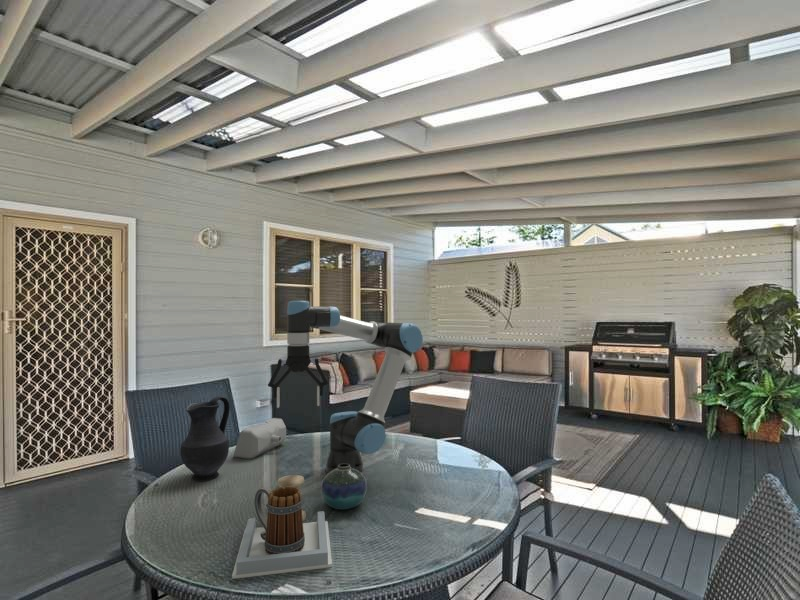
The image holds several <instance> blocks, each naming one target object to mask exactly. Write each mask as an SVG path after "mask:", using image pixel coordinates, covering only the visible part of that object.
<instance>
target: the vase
mask: <svg viewBox="0 0 800 600" xmlns="http://www.w3.org/2000/svg"><path fill="white" fill-rule="evenodd" d="M367 491H368V482H367V479H366V477H365V475H364V474H363V473H362V471H361V472H359V471H358V470H356V469H354V468H351V467H350V464H347V463H342V464H339V465H338V468H336V469H334V470H332V471H331V472H329V473H327V474H326V475H325V476H324V477H323V478H322V480H321V484H320V494H321V497H322V500H323V501H324V503H325V504H326V505H328V507H330V508H332V509H335V510H341V511H342V510H344V511H345V510H350V509H354V508H356V507H357V506H359V505H360V504H361V503H362V502H363V501H364V499H365V497H366V494H367Z"/></svg>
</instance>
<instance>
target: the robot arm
mask: <svg viewBox="0 0 800 600" xmlns="http://www.w3.org/2000/svg"><path fill="white" fill-rule="evenodd" d="M286 309H287V311H286V316H287V321H286V322H287V323H286V324H287V334H286V335H287V339H286V340H287V342H286V343H287V345H288V346H287V347H286V348H287V349H286V351H287V353H286V354H287V355H286V356H287V357H286V359H282V358H279V359H278V361H277V366H276V367H275V370H274V372H273V374H272V376H271V378H270V380H269V382H268V384H267V386H268V387H269V388H272V389H273V391H272V392H273V398H275V399H276V408H277V409H279V408H280V405H281V404H280V396H281V395H280V393H281V392H280V391H281V390H280V387H279V386H280V385H281V383H282V382H283V381H284V380H285V378H286V377H288V375H289V374H290V373H291V371H292V372H294V373H297V372H299V373H300V372H301V373H304V372H307V374H309V376H310V377H311V378H312V379H313V380H314V382H315V383H316V384H317V386H316V406H317V407H320V404H321V403H320V397H321V396H324V386H326V385H327V386H328V384H329V381H328V379H327V376H326V375H325V373H324V371H323V369H322V368H321V366H320V364H319V363H320V361H319V358H318V357H315V358H311V357H310V328H312V329H316V330H320V331H325V332H330V333H335V334H338V335H341V336H347V337H349V338H350V337H351V338H353V339H354V338H356V339H360V340H362V341H363V340H364V342H365V343H367V344H370V345H374V346H376V347H380V348H383V349H384V352H385V356H384V358H383V360H382V362H381V365H380V368H379V370H378V372H377V374H376V377H375V380H374V382H373V385H372V388H371V389H370V392H369V395H368V396H367V399H366V401H365V404H364V407H363V408H362V409H361V410H359V411H356V410H354V411H343V412H342V411H341V412H335V413H332V414H331V416H330V418H329V419H330V420H329V433H330V434H329V442H330V443H329V445H330V446H329V454H328V457H327V459H326V464H325V472H326V473H327V474H328V473H329V472H331V471H332V470H334V469H336V468H338V465H339V464H342V463H347V464H350V467H351V468H354V469H356V470H358V471H359V472H361V473H362V471H363V470H364V461H363V459H362V456H361V453H362V454H367V455H372V454H374V453H375V454H376V452H378V451H380V449H382V448H383V446H384V444H385V442H386V439H387V434H386V432H387V431H386V428H385V425H386V421H385V415H386V412H387V410H388V406H389V404H390V401H391V400H392V396H393V394H394V392H395V389H396V387H397V384H398V381H399V378H400V376H401V374H402V371H403V369H404V366H405V363H406V362H408V361H409V360H411V358H412V355H413V353H416V352H418V351H420V349H421V348H422V345H423V341H424V338H423V337H424V336H423V334H422V331H421V330H422V329H420V328H419V326H418V325H417V324H414V323H411V322H410V323H409V322H379V321H378V322H377V321H373V320H370V321H369V322H368V321H364V320H360V319H356V318H352V317H349V316H345V315H341V313H340V309H339V308H338V307H336V306H331V305H326V306H324V305H323V306H312V305H310V301H309V300H290V301H289V302H287V308H286ZM311 363H312V365H314V366H315V368H316V369H317V372H318V374H319V375H320V378H321V379H322V381H321V380H320V378H318V376H316V374H315V373H314V372H313V371H312V370H311V368H310V367H309V366H310V364H311ZM285 364H286V365H287V369H286V370H285V372H283V373H282V375H281V376H280V377H279V378H278V379H277V381H276V382H275V383H274V381H275V379H276V378H277V376H278V373H279V372H280V369H281V367H283V366H284V365H285Z"/></svg>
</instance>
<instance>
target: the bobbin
mask: <svg viewBox="0 0 800 600" xmlns="http://www.w3.org/2000/svg"><path fill="white" fill-rule="evenodd" d="M304 483H305V477H304V476H302V475H300V474H299V475H298V474H290V475H285V476H281V477H280V478H278V480H277V485H278V487H283V488H285V487H286V486H290V488H291V487H296V488H298V487H300V486H302V485H303V484H304ZM306 517H307V513H306V511H305V510H303V509H302V519H303V522H304V521H305V520H306Z"/></svg>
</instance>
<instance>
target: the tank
mask: <svg viewBox="0 0 800 600" xmlns="http://www.w3.org/2000/svg"><path fill="white" fill-rule="evenodd" d="M264 423H265V424H261V425H259V424H258V425H251V426H249V427H246V428H243V429H242V430H241V431H240V433H239V436H238V439H237V442H236V444H235V445H236V446H235V449H234V452H233V455H232V456H233V457H234V458H241V459H247V460H253V459H254V458H257V457H258V456H261V455H263V454H265V453H266V452H268V451H270V450H272V449H275V448H277V447H278V446H281V445H282V444H283V443H284V441H285V440H286V439H287V426H286V425H285V422H284V420H283V419H282V418H277V417H272V418H269V419H267V420H264Z"/></svg>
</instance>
